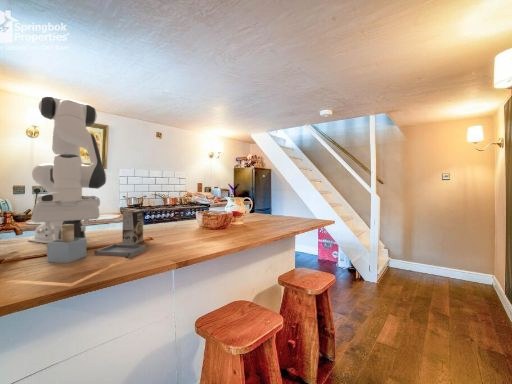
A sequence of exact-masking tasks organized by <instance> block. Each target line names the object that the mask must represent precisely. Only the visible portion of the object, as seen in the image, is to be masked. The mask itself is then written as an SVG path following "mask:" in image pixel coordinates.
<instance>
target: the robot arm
mask: <svg viewBox="0 0 512 384" xmlns="http://www.w3.org/2000/svg"><path fill="white" fill-rule="evenodd" d="M38 110H39V112H40V114H41V116H42V117H44V118H46V119H49V120H54V121H53V131H52V132H53V133H52V147H51V150H52V152H53V153H54V157H53V158H54V159H53V163H41V164H37V165H35V166H34V167H33V168H32V171H31V177H32V180H34V181H35V183H36V184H38V185H40V186H41V187H42V188H43V189H44V190H45V191H46V193H44V194H40V195H37V197H36V201H37V202H36V203H35V204H34V206H33V209H32V213H31V214H32V215H31V216H32V217H31V222H33V223H35V224H36V223H38V224H40V223H41V224H40V225H38V226H37V227H35V230H34V236H33V237H29V238H27V241H28V242H33V243H34V242H35V243H42V244H43V243H44V244H47V242H50V241H54V240H57V239H58V234H59V230H60V227H61V225H62V223H63V221H72V220H82V221H84V224H83V226H81V231H85V232H86V230H87V229H86V227H87V226H88V224H89V222H90V220H98V219H99V218H100V207H99V206H100V205H101V199H100V198H99V197H98V196H96V195H91V196H89V195H83V188H86V189H88V188H89V189H96V190H97V189H100V188H102V187H103V186H104V185H105V184H106V182H107V172H106V170H105V168H104V166H103V162H102V158H101V154H100V150H99V147H98V146H99V145H98V143H97V139H96V137H95V134H93V133H91V132H90V131H89V130H88V129H87V127H91V126H92V125H94V124H95V122H96V121H97V117H98V116H97V115H98V114H97V111H96V108H95V107H94V106H93V105H90V104H89V103H84V102H81V101H77V100H75V99H67V98H63V97H62V98H61V97H55V96H52V95H44V96H42V98H41V99H40V100H39V103H38ZM81 148H82V149H84V150H86V151H87V153H88V157H89V161H90V164H85V163H84V161H83V159H82V157H81V153H80V152H81V150H80V149H81Z"/></svg>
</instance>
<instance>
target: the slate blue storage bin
mask: <svg viewBox="0 0 512 384" xmlns="http://www.w3.org/2000/svg"><path fill="white" fill-rule="evenodd" d="M86 257H87V237H86V238H74V241H72V242H69V243H65V242H61V239H58V240H54V241H50V242H47V243H46V262H47V263H49V262H50V263H65V264H66V263H67V264H69V263H71V262H75V261H77V260H79V259H82V258H86Z"/></svg>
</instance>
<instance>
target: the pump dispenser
mask: <svg viewBox="0 0 512 384" xmlns="http://www.w3.org/2000/svg"><path fill="white" fill-rule="evenodd" d="M82 221H83V220H72V221H63V223H62V225H65V224H74V238H86V239H87V237H86V231H81V226H84V224H83V223H82ZM58 239H61V227H60V230H59V234H58ZM58 239H57V240H58Z"/></svg>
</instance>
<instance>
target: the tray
mask: <svg viewBox="0 0 512 384" xmlns="http://www.w3.org/2000/svg"><path fill="white" fill-rule="evenodd" d="M146 247H147V246H146V245H143V244H141V245H140V244H135V245H127V244H122V243H113V244H111V245H107V246H105V247H102V248H99V249H97V250H94V255H98V256H99V255H100V256H115V257H116V256H118V257H124V259H131V258H132V257H135V256H137V255H138V254H141V253H142V252H145V251H146Z"/></svg>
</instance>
